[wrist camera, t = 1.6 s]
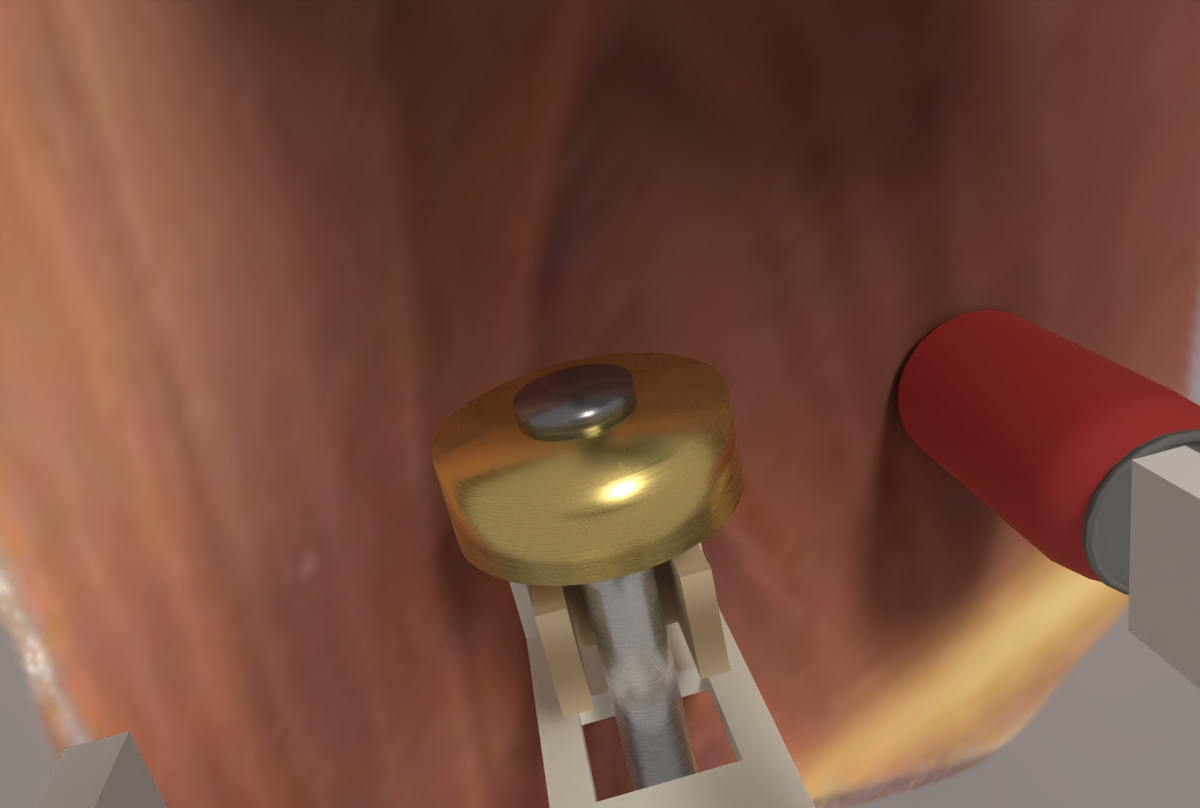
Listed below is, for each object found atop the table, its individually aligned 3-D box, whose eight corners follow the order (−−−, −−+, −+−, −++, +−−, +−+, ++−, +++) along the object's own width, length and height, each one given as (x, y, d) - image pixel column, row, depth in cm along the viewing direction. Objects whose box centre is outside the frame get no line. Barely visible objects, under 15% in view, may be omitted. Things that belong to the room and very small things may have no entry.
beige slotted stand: (504, 559, 38) (543, 885, 23) (690, 509, 39) (842, 798, 24) (548, 708, 41) (607, 1078, 27) (720, 660, 42) (870, 997, 27)
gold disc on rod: (425, 375, 31) (419, 497, 23) (682, 310, 32) (766, 406, 23) (544, 762, 38) (572, 964, 30) (753, 703, 38) (838, 885, 30)
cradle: (507, 480, 37) (528, 618, 28) (652, 442, 37) (717, 567, 28) (531, 563, 38) (557, 719, 30) (669, 525, 39) (736, 669, 30)
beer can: (931, 481, 40) (1116, 649, 29) (863, 367, 38) (1039, 503, 26) (1061, 394, 39) (1301, 532, 28) (1002, 272, 37) (1239, 372, 26)
